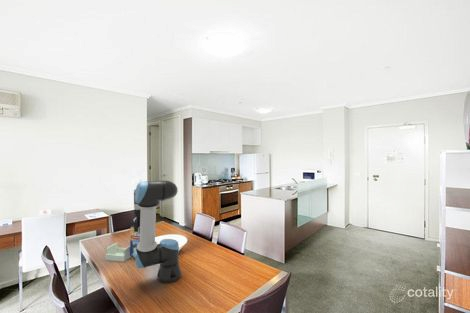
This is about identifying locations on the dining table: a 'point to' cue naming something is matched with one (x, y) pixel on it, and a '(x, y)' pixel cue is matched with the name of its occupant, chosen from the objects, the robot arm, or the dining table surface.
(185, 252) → the dining table surface
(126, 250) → the crate
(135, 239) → the beverage box
